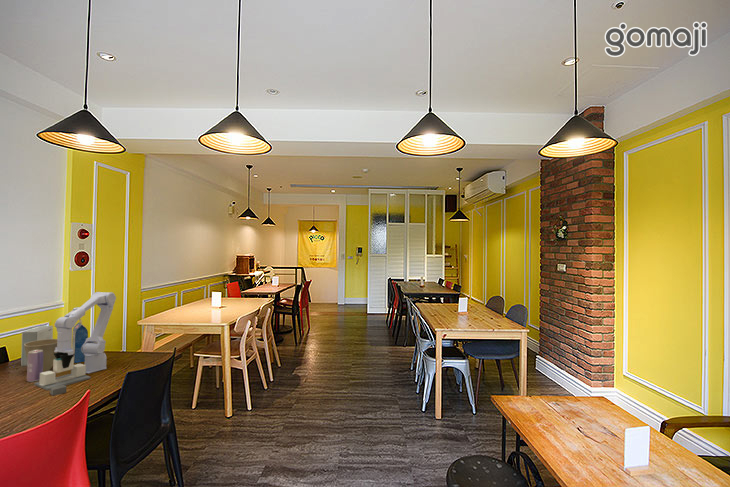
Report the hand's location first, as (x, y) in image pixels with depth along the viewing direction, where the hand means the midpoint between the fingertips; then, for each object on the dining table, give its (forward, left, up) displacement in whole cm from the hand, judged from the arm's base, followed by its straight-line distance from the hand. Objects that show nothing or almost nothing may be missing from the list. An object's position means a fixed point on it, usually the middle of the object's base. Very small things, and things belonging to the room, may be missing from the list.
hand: (63, 366), depth 181 cm
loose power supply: (+8, +15, -8) cm, 19 cm away
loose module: (0, 0, -2) cm, 2 cm away
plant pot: (-2, -29, -8) cm, 30 cm away
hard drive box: (-8, -51, -8) cm, 52 cm away
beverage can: (+6, -15, -8) cm, 18 cm away
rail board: (0, 0, -8) cm, 8 cm away
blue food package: (-22, -34, -8) cm, 41 cm away
